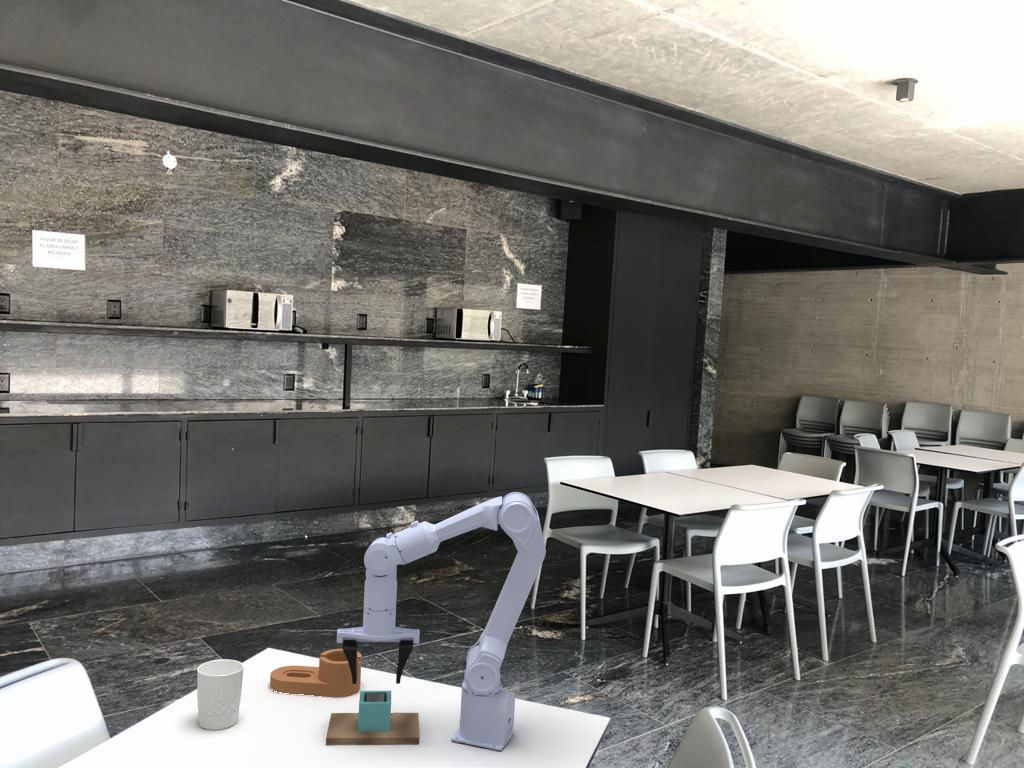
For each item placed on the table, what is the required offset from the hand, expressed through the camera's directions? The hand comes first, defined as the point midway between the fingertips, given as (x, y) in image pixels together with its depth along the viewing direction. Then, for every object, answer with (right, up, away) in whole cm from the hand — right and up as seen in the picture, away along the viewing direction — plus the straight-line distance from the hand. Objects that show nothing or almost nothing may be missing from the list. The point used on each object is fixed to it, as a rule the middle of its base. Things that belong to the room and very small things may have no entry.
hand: (376, 681), depth 147 cm
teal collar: (-1, -8, 0) cm, 8 cm away
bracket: (-15, -8, +18) cm, 25 cm away
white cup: (-29, -8, +1) cm, 30 cm away
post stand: (-1, -9, 0) cm, 9 cm away
